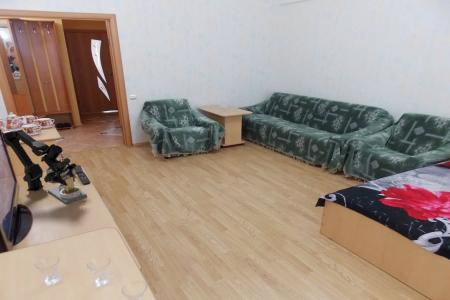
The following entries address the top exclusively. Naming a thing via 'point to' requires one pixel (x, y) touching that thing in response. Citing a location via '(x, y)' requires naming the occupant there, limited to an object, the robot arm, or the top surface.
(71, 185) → the gold pepper grinder
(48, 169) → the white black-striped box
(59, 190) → the board
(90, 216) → the top surface
